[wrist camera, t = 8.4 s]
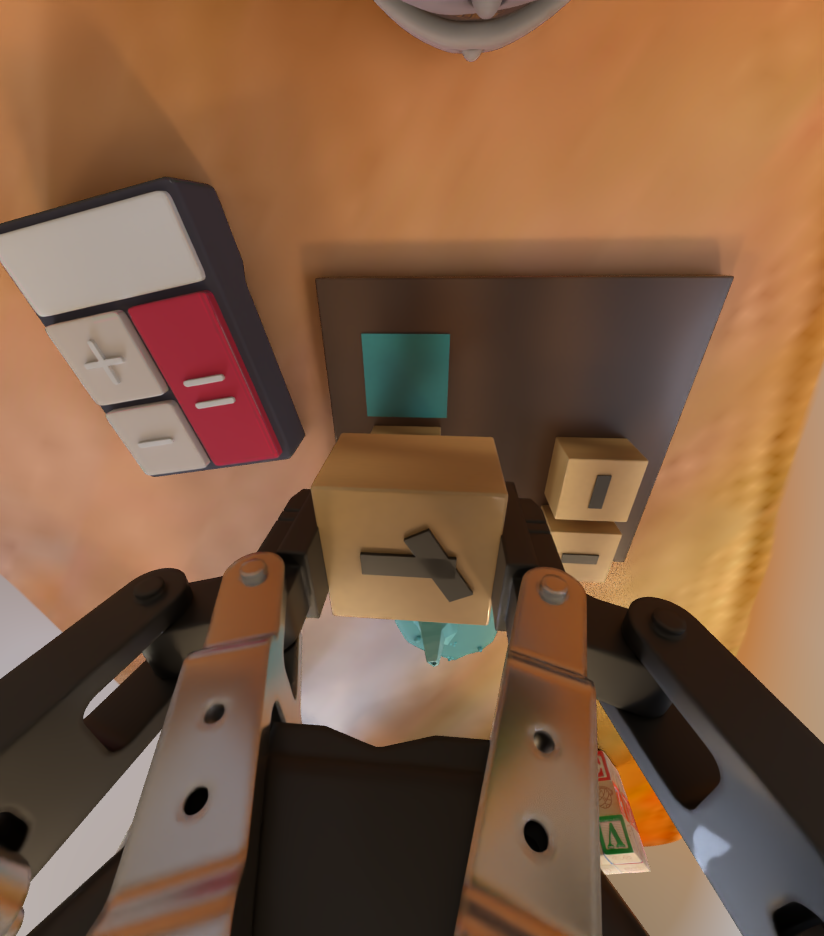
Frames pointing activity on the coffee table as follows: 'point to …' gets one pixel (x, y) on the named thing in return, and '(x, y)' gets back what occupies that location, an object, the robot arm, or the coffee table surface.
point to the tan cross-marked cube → (411, 526)
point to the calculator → (158, 324)
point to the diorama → (447, 638)
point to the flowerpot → (470, 21)
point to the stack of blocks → (617, 824)
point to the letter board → (530, 382)
